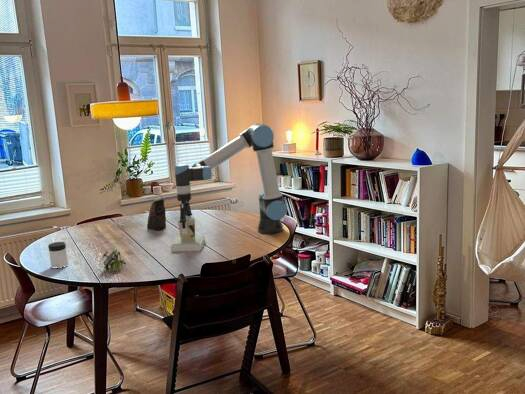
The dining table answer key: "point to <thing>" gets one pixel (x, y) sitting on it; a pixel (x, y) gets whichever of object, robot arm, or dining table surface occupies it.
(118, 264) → the small green plant
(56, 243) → the jar
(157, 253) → the dining table surface
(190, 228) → the coffee cup
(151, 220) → the owl
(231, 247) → the dining table surface
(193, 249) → the plinth
